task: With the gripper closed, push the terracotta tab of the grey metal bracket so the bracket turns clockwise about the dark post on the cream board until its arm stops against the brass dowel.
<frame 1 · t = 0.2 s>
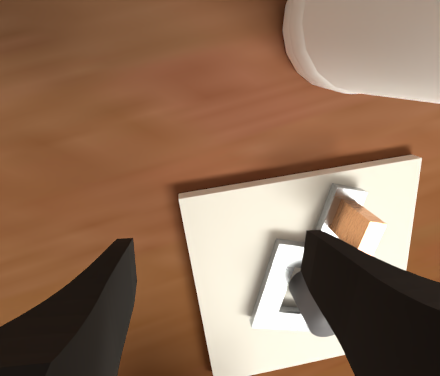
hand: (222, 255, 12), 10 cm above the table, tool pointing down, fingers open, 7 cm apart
bottle: (339, 24, 19), on the table
grey metal bracket: (329, 277, 22), point 3 cm above the table, hinge at 0.0°
base board: (301, 276, 26), on the table
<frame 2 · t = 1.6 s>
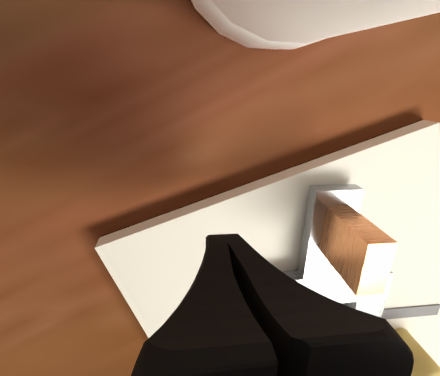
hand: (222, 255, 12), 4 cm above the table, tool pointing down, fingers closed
grey metal bracket: (332, 318, 15), point 3 cm above the table, hinge at 0.0°
base board: (300, 308, 19), on the table
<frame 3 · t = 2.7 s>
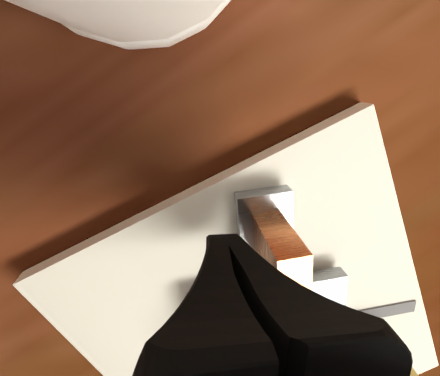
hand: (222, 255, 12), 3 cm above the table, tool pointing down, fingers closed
grey metal bracket: (278, 335, 14), point 3 cm above the table, hinge at 0.0°, touching gripper
base board: (261, 319, 18), on the table
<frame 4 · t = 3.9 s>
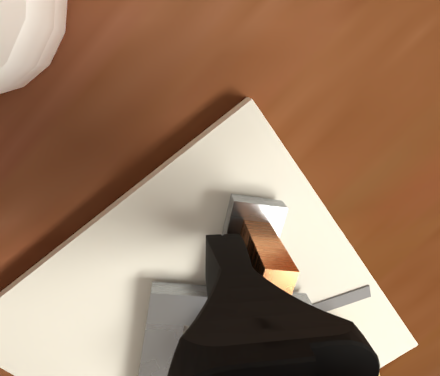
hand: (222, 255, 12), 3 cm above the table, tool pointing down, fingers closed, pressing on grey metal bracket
grey metal bracket: (233, 345, 14), point 3 cm above the table, hinge at 28.5°, touching gripper
base board: (214, 327, 18), on the table
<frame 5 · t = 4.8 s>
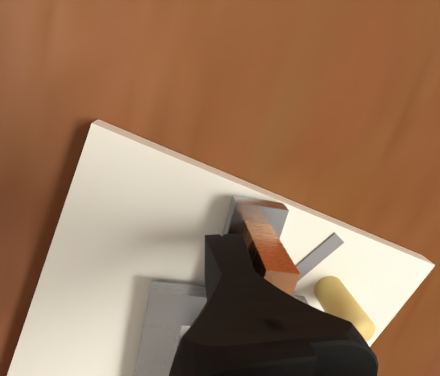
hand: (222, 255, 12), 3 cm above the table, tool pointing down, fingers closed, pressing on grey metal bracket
grey metal bracket: (231, 346, 14), point 3 cm above the table, hinge at 57.4°, touching gripper
base board: (212, 328, 18), on the table
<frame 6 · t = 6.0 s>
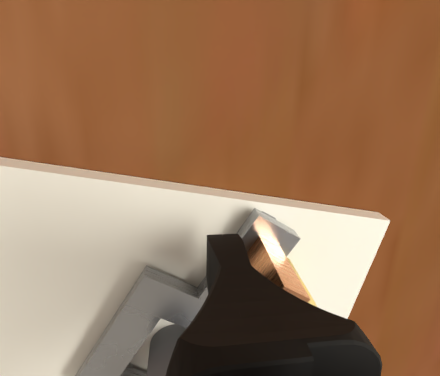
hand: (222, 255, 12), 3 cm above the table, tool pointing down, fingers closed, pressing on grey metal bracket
grey metal bracket: (205, 351, 14), point 3 cm above the table, hinge at 91.4°, touching base board, gripper
base board: (177, 330, 17), on the table
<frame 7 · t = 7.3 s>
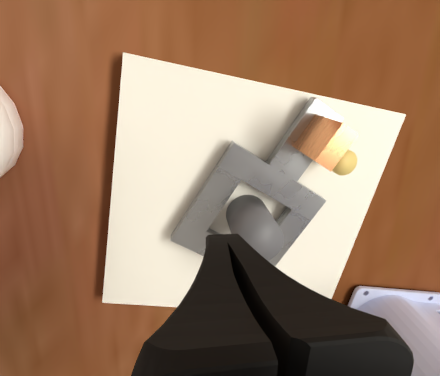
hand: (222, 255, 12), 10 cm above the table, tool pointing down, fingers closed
grey metal bracket: (276, 199, 19), point 3 cm above the table, hinge at 91.4°, touching base board
base board: (243, 207, 23), on the table
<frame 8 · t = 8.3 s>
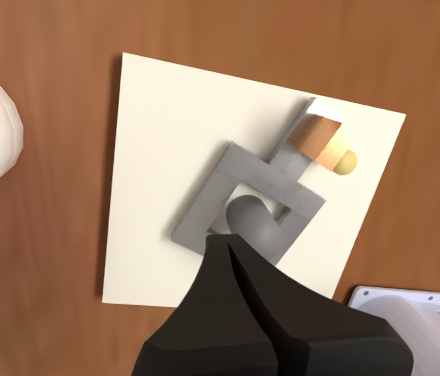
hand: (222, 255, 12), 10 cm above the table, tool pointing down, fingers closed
grey metal bracket: (276, 199, 19), point 3 cm above the table, hinge at 91.4°, touching base board
base board: (243, 207, 23), on the table
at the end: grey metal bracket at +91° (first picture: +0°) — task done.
